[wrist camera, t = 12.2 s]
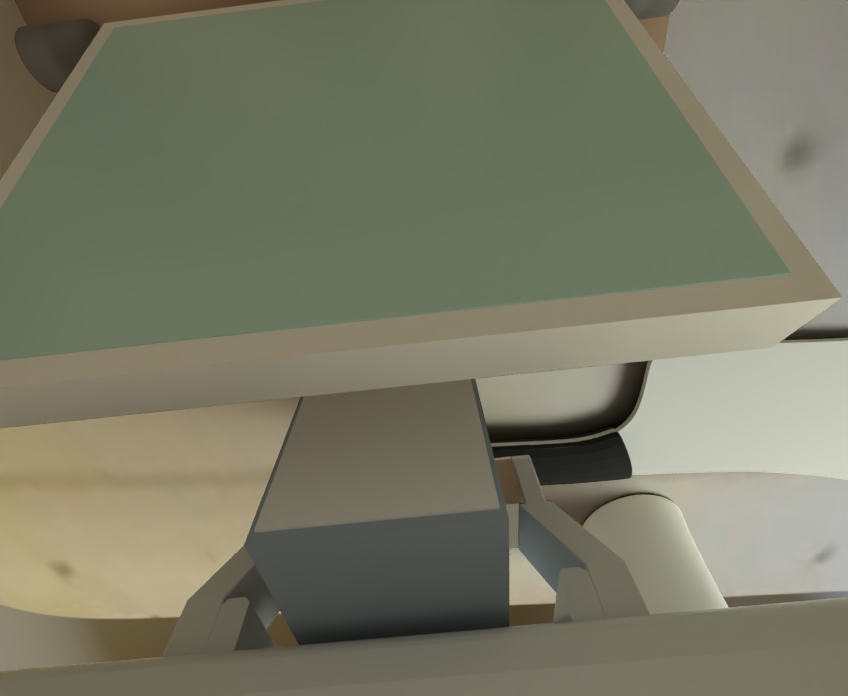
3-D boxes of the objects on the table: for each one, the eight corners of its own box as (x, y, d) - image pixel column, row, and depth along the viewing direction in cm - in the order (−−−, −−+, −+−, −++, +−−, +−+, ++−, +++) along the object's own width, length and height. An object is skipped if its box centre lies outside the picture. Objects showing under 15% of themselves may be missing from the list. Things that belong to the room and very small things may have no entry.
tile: (580, 19, 11) (594, -43, 10) (772, 347, 6) (845, 295, 5) (138, 76, 11) (102, 21, 10) (-43, 432, 6) (-151, 402, 5)
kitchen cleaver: (1080, 342, 17) (927, 496, 23) (1026, 323, 19) (894, 472, 24) (356, 351, 15) (368, 522, 20) (359, 330, 17) (369, 494, 22)
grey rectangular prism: (455, 299, 13) (509, 517, 6) (468, 474, 17) (509, 724, 10) (332, 312, 13) (242, 543, 6) (374, 483, 17) (350, 737, 10)
